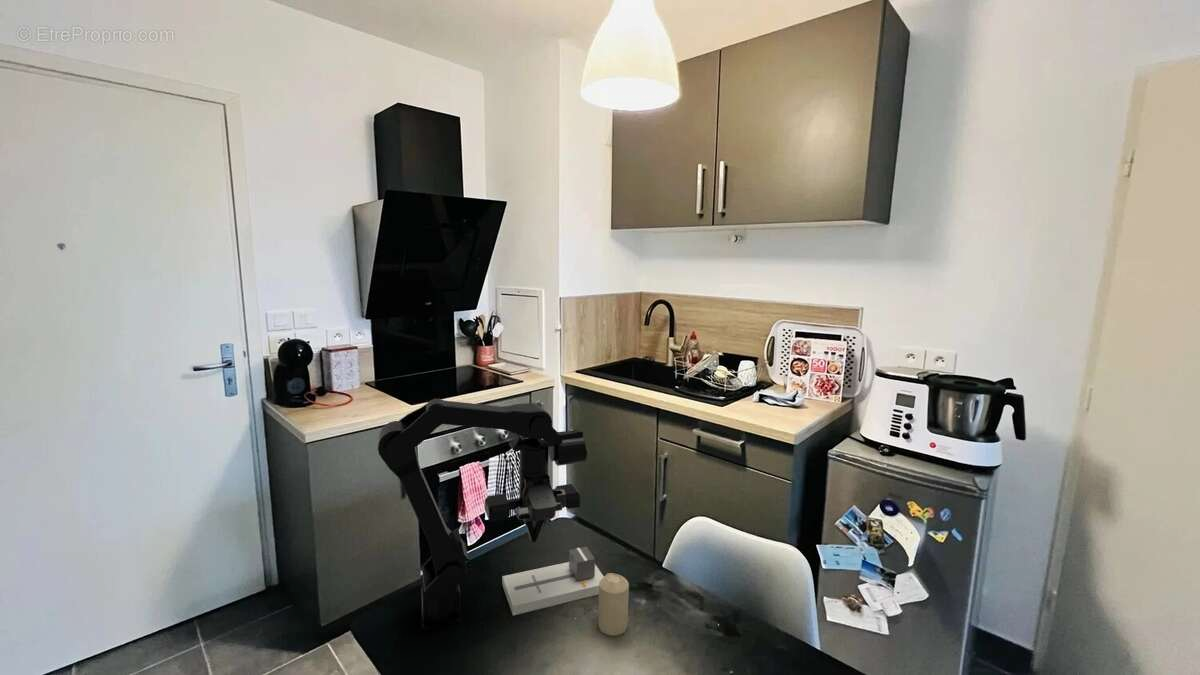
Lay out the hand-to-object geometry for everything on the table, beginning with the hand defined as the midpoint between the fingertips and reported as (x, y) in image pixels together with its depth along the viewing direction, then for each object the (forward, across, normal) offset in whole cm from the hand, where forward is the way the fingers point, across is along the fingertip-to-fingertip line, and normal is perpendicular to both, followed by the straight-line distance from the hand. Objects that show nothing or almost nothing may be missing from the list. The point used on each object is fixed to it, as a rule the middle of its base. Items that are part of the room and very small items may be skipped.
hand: (533, 541), depth 100 cm
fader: (+9, +11, 0) cm, 14 cm away
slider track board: (+12, +5, 0) cm, 12 cm away
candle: (+12, +12, -14) cm, 22 cm away
